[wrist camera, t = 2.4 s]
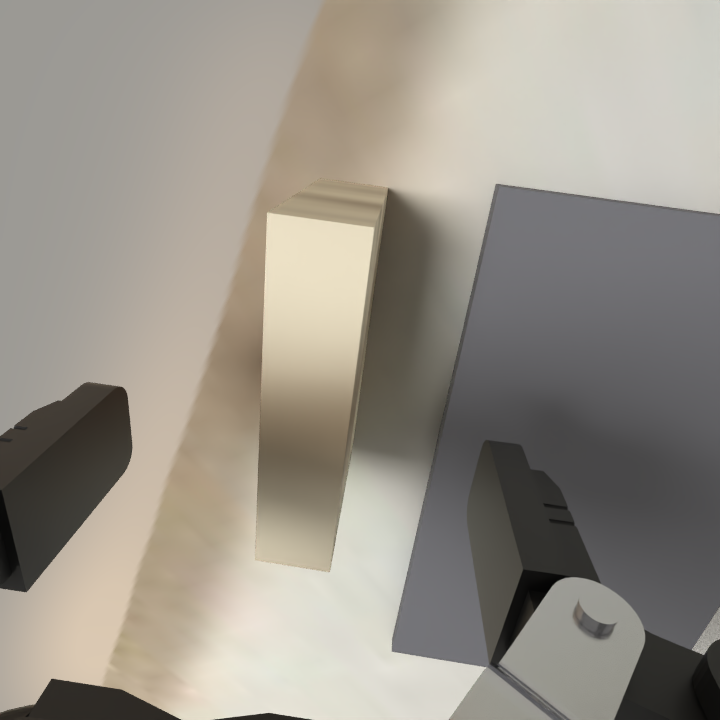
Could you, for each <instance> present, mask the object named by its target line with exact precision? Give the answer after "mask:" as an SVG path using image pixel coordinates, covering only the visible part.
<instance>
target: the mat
mask: <svg viewBox="0 0 720 720" xmlns="http://www.w3.org/2000/svg"><path fill="white" fill-rule="evenodd" d="M485 440H492V441H499V442H506V443H513V444H520V445H521V446H522V448H523V450H524V453H525V456H526V458H527V461H528V464H529V466H530V469H533V470H540V471H544V472H545V473H546V474H547V475H548V476H549V477H550V478H551V479H552V480H553V482H554V483H555V484H556V485H557V486H558V487H559V488H560V489H561V492H562V494H563V496H564V499H565V501H566V503H567V506H568V511H570V513H571V515H572V517H573V520H574V522H575V524H574V525H575V526H576V527H577V529H578V531H579V533H580V536H581V538H582V540H583V543H584V545H585V547H586V550H587V552H588V554H589V557H590V559H591V561H592V564H593V566H594V568H595V571H596V573H597V575H598V578H599V580H600V582H601V584H602V585H604V586H606V587H607V588H609V589H611V590H612V591H614V592H615V593H617V594H618V595H619V596H620V597H622V598H623V599H624V600H625V601H626V602H627V603H628V604H629V605H630V606H631V607H632V608H633V610H634V611H635V612H636V614H637V615H638V617H639V619H640V620H641V623H642V625H643V627H644V629H645V630H647V631H648V632H650V633H652V634H654V635H656V636H659V637H661V638H663V639H666V640H668V641H671V642H673V643H675V644H678V645H680V646H683V647H685V648H687V649H690V650H692V648H693V647H694V645H695V644H696V642H697V640H698V639H699V637H700V636H701V634H702V633H703V631H704V630H705V628H706V627H707V625H708V624H709V622H710V620H711V619H712V617H713V616H714V614H715V613H716V611H717V610H718V608H719V607H720V214H714V213H706V212H699V211H692V210H684V209H677V208H669V207H662V206H655V205H647V204H640V203H633V202H625V201H618V200H611V199H603V198H596V197H589V196H581V195H574V194H567V193H559V192H552V191H544V190H537V189H530V188H522V187H515V186H508V185H500V184H496V186H495V191H494V195H493V199H492V204H491V208H490V213H489V217H488V221H487V226H486V230H485V235H484V239H483V243H482V248H481V252H480V256H479V261H478V265H477V270H476V274H475V278H474V283H473V287H472V292H471V296H470V300H469V305H468V309H467V313H466V318H465V322H464V327H463V331H462V335H461V340H460V344H459V349H458V353H457V357H456V362H455V366H454V371H453V375H452V379H451V384H450V388H449V392H448V397H447V401H446V406H445V410H444V414H443V419H442V423H441V428H440V432H439V436H438V441H437V445H436V449H435V454H434V458H433V463H432V467H431V471H430V476H429V480H428V485H427V489H426V493H425V498H424V502H423V506H422V511H421V515H420V520H419V524H418V528H417V533H416V537H415V542H414V546H413V550H412V555H411V559H410V564H409V568H408V572H407V577H406V581H405V585H404V590H403V594H402V599H401V603H400V607H399V612H398V616H397V621H396V625H395V629H394V634H393V638H392V652H398V653H404V654H410V655H416V656H422V657H428V658H434V659H440V660H446V661H452V662H458V663H464V664H470V665H476V666H482V667H487V666H488V665H489V660H488V653H487V647H486V641H485V634H484V628H483V622H482V615H481V609H480V602H479V596H478V590H477V583H476V577H475V571H474V564H473V558H472V552H471V545H470V539H469V532H468V526H467V504H468V498H469V493H470V489H471V485H472V482H473V478H474V474H475V470H476V467H477V463H478V459H479V455H480V451H481V448H482V445H483V443H484V441H485Z"/></svg>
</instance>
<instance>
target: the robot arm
mask: <svg viewBox="0 0 720 720" xmlns="http://www.w3.org/2000/svg"><path fill="white" fill-rule="evenodd" d="M131 454H132V437H131V427H130V416H129V406H128V397H127V393H126V391H125V389H124V388H123V387H118V386H112V385H104V384H98V383H90V382H87V383H84V384H83V385H81V386H80V387H79V388H78V389H76V390H75V391H74V392H72V393H71V394H70V395H69V396H67V397H66V398H65V399H64V400H62V401H56V402H54V403H51V404H49V405H47V406H44V407H42V408H40V409H37V410H35V411H33V412H32V413H30V414H29V415H28V416H26V417H25V418H24V419H22V420H21V421H20V422H18V423H17V424H16V425H15V426H14V429H12V428H10V429H9V430H8V431H7V432H5V433H4V434H3V435H1V436H0V588H2V589H8V590H15V591H22V592H27V591H28V590H29V589H30V587H31V586H32V585H33V584H34V582H35V581H36V580H37V579H38V578H39V576H40V575H41V574H42V573H43V571H44V570H45V569H46V568H47V567H48V565H49V564H50V563H51V562H52V560H53V559H54V558H55V557H56V555H57V554H58V553H59V552H60V551H61V549H62V548H63V547H64V546H65V545H66V543H67V542H68V541H69V540H70V538H71V537H72V536H73V535H74V534H75V532H76V531H77V530H78V529H79V527H80V526H81V525H82V524H83V522H84V521H85V520H86V519H87V518H88V516H89V515H90V514H91V513H92V511H93V510H94V509H95V508H96V507H97V505H98V504H99V503H100V502H101V500H102V499H103V498H104V497H105V496H106V494H107V493H108V492H109V491H110V489H111V488H112V487H113V486H114V485H115V483H116V482H117V481H118V480H119V478H120V477H121V476H122V475H123V473H124V472H125V470H126V469H127V466H128V464H129V462H130V458H131ZM574 524H575V522H574V520H573V517H572V515H571V513H570V511H568V506H567V503H566V501H565V499H564V496H563V494H562V492H561V489H560V488H559V487H558V486H557V485H556V484H555V483H554V482H553V480H552V479H551V478H550V477H549V476H548V475H547V474H546V473H545V472H544V471H540V470H533V469H530V466H529V464H528V461H527V458H526V456H525V453H524V450H523V448H522V446H521V445H520V444H513V443H506V442H499V441H492V440H485V441H484V443H483V445H482V448H481V451H480V455H479V459H478V463H477V467H476V470H475V474H474V478H473V482H472V485H471V489H470V493H469V498H468V504H467V526H468V532H469V539H470V545H471V552H472V558H473V564H474V571H475V577H476V583H477V590H478V596H479V602H480V609H481V615H482V622H483V628H484V634H485V641H486V647H487V653H488V660H489V665H488V666H487V668H486V669H485V670H484V671H483V673H482V674H481V675H480V677H479V678H478V679H477V681H476V682H475V684H474V685H473V686H472V688H471V689H470V691H469V692H468V693H467V695H466V696H465V698H464V699H463V700H462V702H461V703H460V705H459V706H458V707H457V709H456V710H455V712H454V713H453V715H452V716H451V717H450V719H449V720H720V640H717V641H715V642H713V643H712V644H711V645H710V647H709V648H708V650H707V651H706V653H705V655H702V654H699V653H697V652H695V651H692V650H690V649H687V648H685V647H683V646H680V645H678V644H675V643H673V642H671V641H668V640H666V639H663V638H661V637H659V636H656V635H654V634H652V633H650V632H648V631H647V630H645V629H644V627H643V625H642V623H641V620H640V619H639V617H638V615H637V614H636V612H635V611H634V610H633V608H632V607H631V606H630V605H629V604H628V603H627V602H626V601H625V600H624V599H623V598H622V597H620V596H619V595H618V594H617V593H615V592H614V591H612V590H611V589H609V588H607V587H606V586H604V585H602V584H601V582H600V580H599V578H598V575H597V573H596V571H595V568H594V566H593V564H592V561H591V559H590V557H589V554H588V552H587V550H586V547H585V545H584V543H583V540H582V538H581V536H580V533H579V531H578V529H577V527H576V526H575V525H574ZM0 720H181V719H179V718H177V717H175V716H173V715H171V714H169V713H167V712H165V711H163V710H161V709H159V708H157V707H155V706H153V705H151V704H149V703H147V702H145V701H143V700H141V699H139V698H137V697H135V696H133V695H131V694H129V693H127V692H125V691H123V690H120V689H114V688H107V687H101V686H95V685H88V684H82V683H75V682H69V681H63V680H56V679H51V681H50V682H49V684H48V685H47V687H46V689H45V690H44V692H43V693H42V695H41V696H40V698H39V699H38V701H37V703H36V704H35V705H29V706H24V707H19V708H15V709H11V710H7V711H4V712H1V713H0ZM215 720H310V719H304V718H297V717H291V716H285V715H278V714H272V713H265V714H256V715H248V716H240V717H232V718H224V719H215Z"/></svg>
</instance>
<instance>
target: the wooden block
mask: <svg viewBox="0 0 720 720" xmlns="http://www.w3.org/2000/svg"><path fill="white" fill-rule="evenodd" d="M387 194H388V188H387V187H380V186H372V185H365V184H358V183H350V182H343V181H336V180H328V179H321V178H320V179H318V180H317V181H315V182H314V183H312V184H311V185H309V186H308V187H306V188H305V189H303V190H301V191H300V192H298V193H297V194H295V195H294V196H292V197H291V198H289V199H288V200H286V201H285V202H283V203H281V204H280V205H278V206H277V207H275V208H274V209H272V210H271V211H269V212H268V213H267V235H266V263H265V292H264V320H263V348H262V376H261V405H260V433H259V461H258V489H257V517H256V546H255V560H257V561H264V562H270V563H276V564H282V565H288V566H294V567H300V568H306V569H313V570H319V571H325V572H330V568H331V562H332V557H333V551H334V546H335V540H336V535H337V529H338V524H339V518H340V513H341V507H342V502H343V496H344V491H345V485H346V480H347V475H348V469H349V464H350V458H351V453H352V447H353V441H354V434H355V427H356V420H357V412H358V405H359V398H360V390H361V383H362V376H363V369H364V361H365V354H366V347H367V340H368V332H369V325H370V318H371V310H372V303H373V296H374V289H375V281H376V274H377V267H378V259H379V252H380V245H381V238H382V230H383V223H384V216H385V208H386V201H387Z"/></svg>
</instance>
